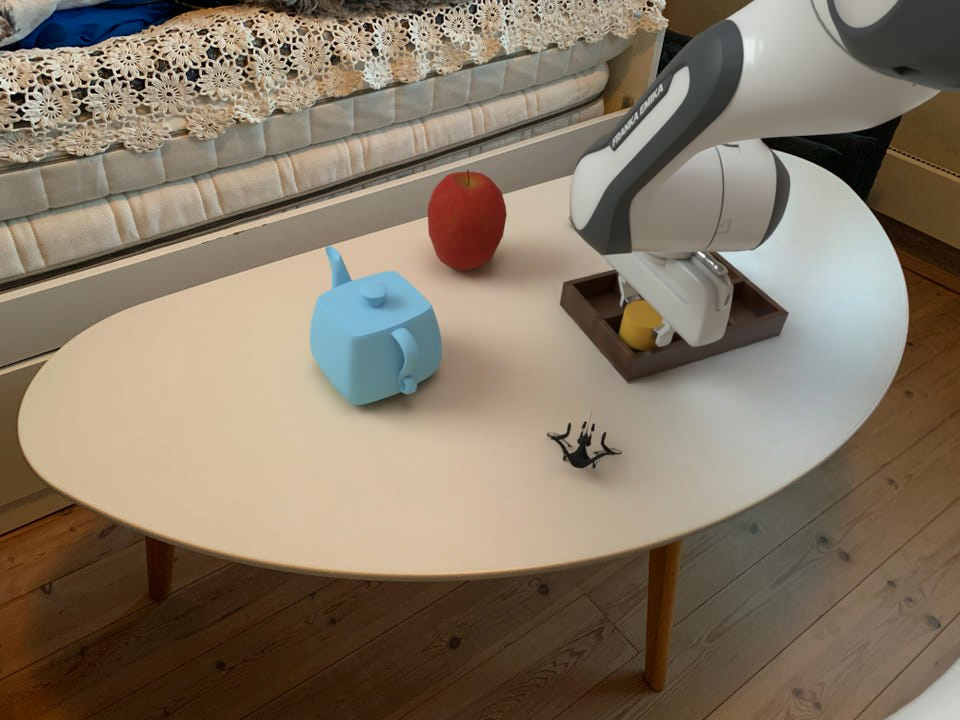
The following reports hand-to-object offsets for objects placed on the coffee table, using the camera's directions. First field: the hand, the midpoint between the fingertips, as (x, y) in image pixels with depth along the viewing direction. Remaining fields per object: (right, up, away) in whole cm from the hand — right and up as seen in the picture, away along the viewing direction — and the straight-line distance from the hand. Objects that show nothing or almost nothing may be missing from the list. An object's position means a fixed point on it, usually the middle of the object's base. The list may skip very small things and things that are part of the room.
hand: (643, 324), depth 89 cm
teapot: (-31, -5, -2) cm, 32 cm away
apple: (-21, +9, +14) cm, 27 cm away
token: (0, -1, +1) cm, 2 cm away
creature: (-8, -14, -10) cm, 19 cm away
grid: (+5, +1, +8) cm, 9 cm away
